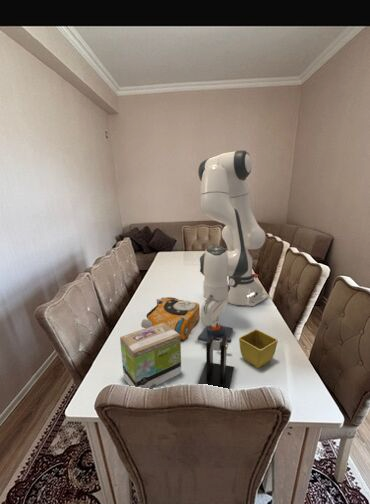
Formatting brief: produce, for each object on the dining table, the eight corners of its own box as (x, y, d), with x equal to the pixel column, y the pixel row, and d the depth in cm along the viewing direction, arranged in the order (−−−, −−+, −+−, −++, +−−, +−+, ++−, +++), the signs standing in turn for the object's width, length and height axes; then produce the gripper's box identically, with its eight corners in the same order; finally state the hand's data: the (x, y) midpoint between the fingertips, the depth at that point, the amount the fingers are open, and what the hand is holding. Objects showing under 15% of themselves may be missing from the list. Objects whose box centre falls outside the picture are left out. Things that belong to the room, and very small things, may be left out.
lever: (216, 342, 85) (216, 335, 85) (230, 344, 83) (231, 337, 83) (206, 348, 70) (207, 340, 71) (224, 351, 69) (225, 343, 69)
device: (129, 317, 97) (163, 290, 124) (131, 335, 100) (164, 305, 126) (183, 326, 89) (207, 295, 116) (184, 346, 92) (207, 311, 118)
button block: (209, 327, 104) (209, 318, 103) (232, 332, 100) (233, 323, 99) (197, 342, 94) (197, 332, 93) (223, 348, 90) (223, 339, 88)
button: (213, 326, 98) (213, 322, 98) (221, 328, 97) (221, 323, 96) (209, 330, 95) (209, 326, 95) (218, 332, 94) (218, 328, 93)
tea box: (137, 399, 68) (133, 352, 64) (123, 378, 76) (118, 336, 72) (182, 375, 77) (181, 333, 72) (165, 359, 85) (163, 320, 80)
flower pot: (258, 375, 76) (260, 350, 73) (237, 361, 83) (238, 337, 80) (276, 364, 81) (278, 340, 78) (254, 351, 88) (256, 328, 85)
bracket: (206, 364, 82) (206, 327, 77) (234, 369, 79) (235, 331, 75) (196, 391, 71) (195, 349, 67) (228, 398, 68) (229, 355, 64)
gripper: (213, 303, 81) (212, 340, 85) (231, 284, 98) (230, 315, 102) (195, 300, 84) (195, 336, 88) (216, 281, 101) (216, 312, 105)
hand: (214, 325), depth 95 cm, fingers closed, pressing on button
